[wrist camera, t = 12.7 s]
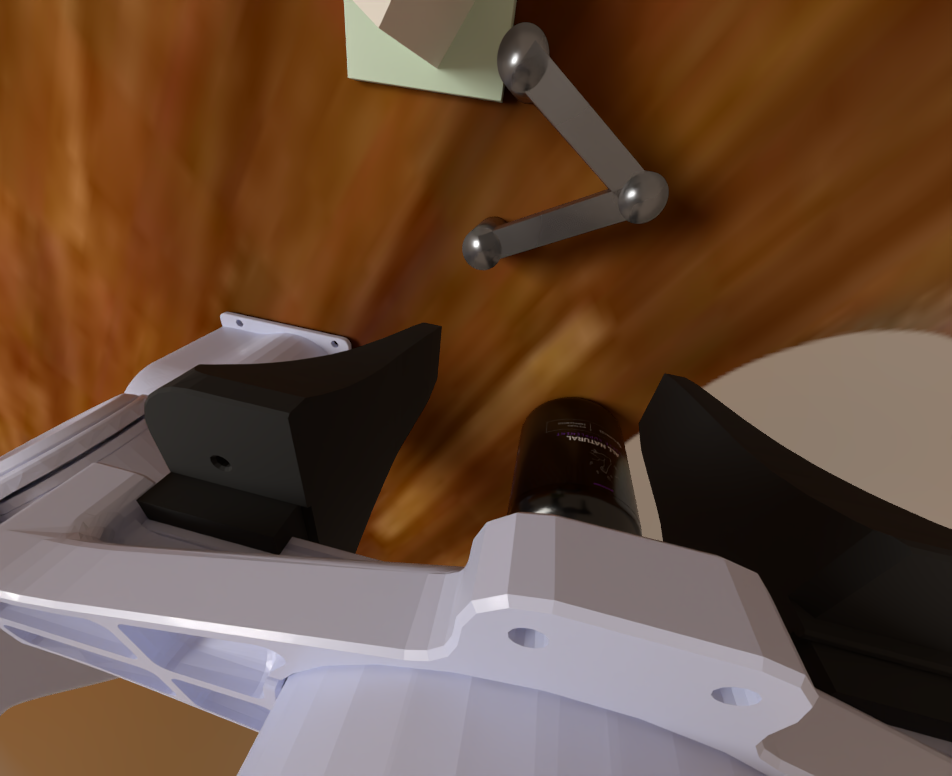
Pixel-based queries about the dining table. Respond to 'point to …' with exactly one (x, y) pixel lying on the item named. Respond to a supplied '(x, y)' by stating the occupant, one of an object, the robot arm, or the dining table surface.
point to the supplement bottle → (574, 466)
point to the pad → (458, 73)
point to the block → (419, 23)
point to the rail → (588, 135)
